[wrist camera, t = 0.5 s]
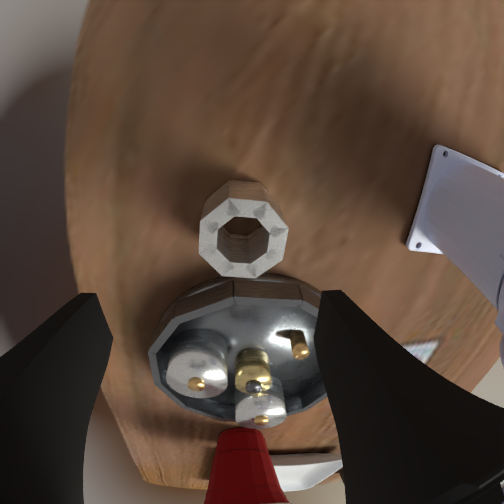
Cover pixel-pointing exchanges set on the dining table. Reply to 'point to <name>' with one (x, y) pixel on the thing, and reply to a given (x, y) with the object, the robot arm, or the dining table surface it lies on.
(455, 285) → the dining table surface
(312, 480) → the salad plate
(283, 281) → the carrier
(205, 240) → the octagonal tube
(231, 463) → the plastic cup
